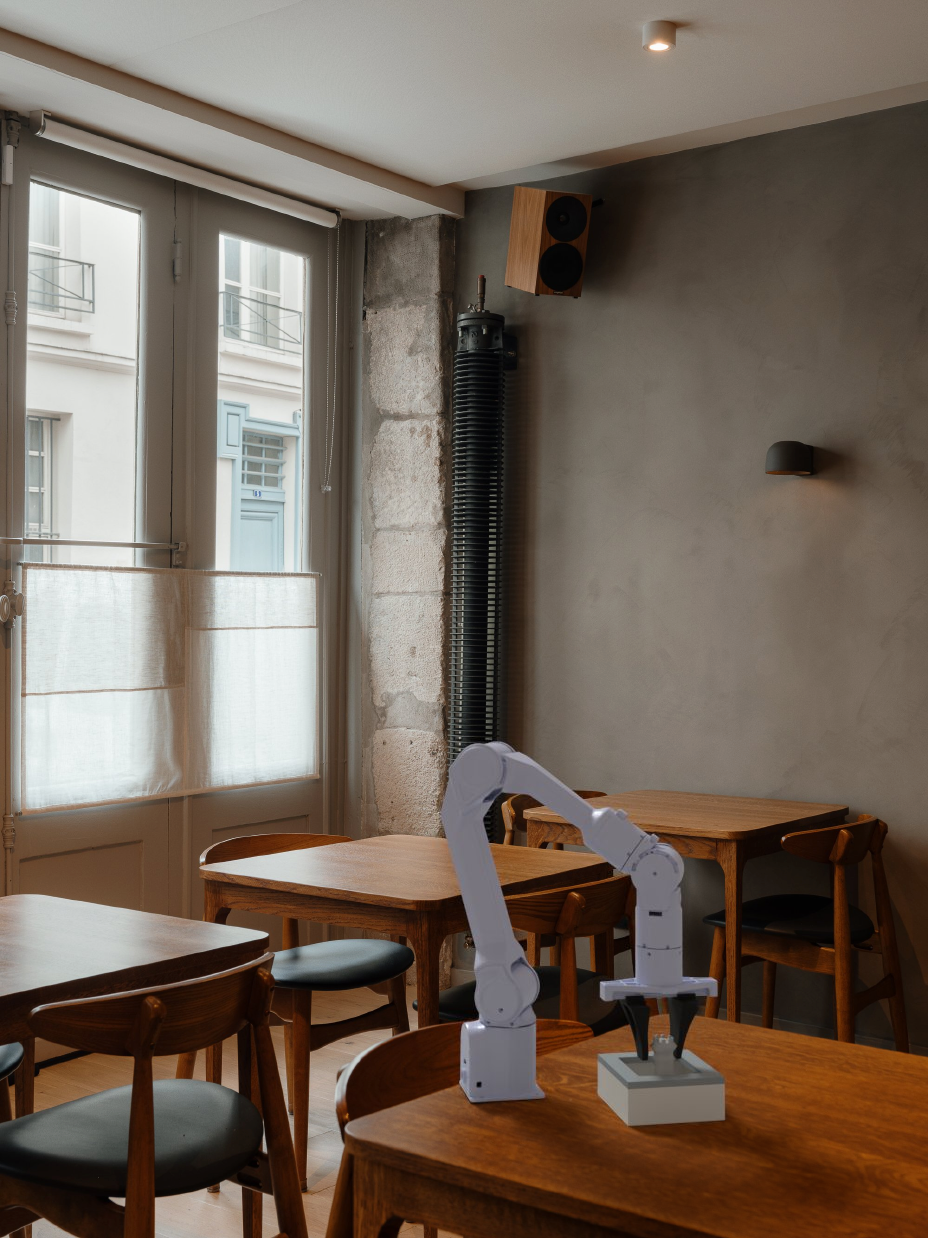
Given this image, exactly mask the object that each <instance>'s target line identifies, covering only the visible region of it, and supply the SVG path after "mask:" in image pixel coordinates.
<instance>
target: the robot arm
mask: <svg viewBox="0 0 928 1238" xmlns="http://www.w3.org/2000/svg"><path fill="white" fill-rule="evenodd" d="M502 793H505V794H519V795H528V796H530V797H532V799H535V800H536V801H538V802H539V803H540V804H542V805H544V806H545V807H547V808H548V809H549V810H551V811H553V812H554V813H555V814H557V815H558V816H560V817H561V818H563V819H565V821H567V822H569V824H571V825H573V826H575V827H576V828H578V829H579V830H580V833H581V836H582V842H583V845H584V846H585V847H587V848H588V849H589V850H591V851H592V852H593V853H595V854H597V856H599V857H601V859H603V860H605V861H606V862H608V863H609V864H610V865H611V866H613V867H614V868H616V869H617V870H618V871H619V872H621V873H623V875H630V877H631V882H632V884H633V886H634V887H635V888H636V906H635V912H634V913H635V945H634V946H635V947H634V948H635V977H631V978H624V979H617V980H610V981H609V980H608V981H600V982H599V998H601V1000H602V1001H604V1002H612V1001H614V1000H619V1003H620V1006H621V1008H622V1010H623V1012H624V1014H625V1017H626V1019H627V1022H628V1024H629V1026H630V1030H631V1033H632V1036H633V1040H634V1044H635V1049H636V1052H637V1057H639V1058H640V1059H641V1060H642V1061H647V1060H648V1054H649V1025H650V1024H649V1023H650V1017H651V1012H652V1011H651V1009H652V1008H651V1007H650V1006H648V1004H647V1001H646V1000H645V999H652V998H654V999H655V998H657V999H658V998H666V1000H667V1007H668V1016H669V1035H670V1036H672V1037H674V1042H675V1043H676V1045H677V1047H676V1048H675V1050H674V1051H673V1056H674V1057H675V1058H676V1059H681V1057H682V1051H683V1050H684V1048H685V1047H684V1046H685V1041H686V1038H687V1036H688V1033H689V1029H690V1027H691V1025H692V1023H693V1020H694V1019H695V1017H696V1015H697V1013H698V1012H699V1010H700V1000H698V999H697V997H698V996H699V997H700V996H701V997H703V996H704V997H705V996H708V997H710V998H711V997H712V998H714V997H715V998H717V997H718V980H717V979H714V978H713V977H694V976H693V977H690V976H683V908H682V906H681V902H682V892H681V887H680V886H679V884H680V883H681V881H682V879H683V877H684V873H685V864H684V861H683V860H684V859H683V858H682V857H681V855H680V854H679V852H678V851H677V850H676V849H675V848H674V847H673V845H671V844H669V843H665V842H659V840H660V837H659V836H657V835H656V834H655V833H652V834H651V835H650V834H648V833H647V832H645V831H644V830H642V829H641V828H640V827H638V826H637V825H635V823H634V822H633V823H632V822H631V821H630V820H629V819H627V818H628V817H629V814H628V813H627V812H626V811H625V810H623V809H622V808H619V809H617V810H615V809H613V808H612V807H602V808H595V807H593V806H592V805H591V804H590V803H589V802H588V801H586V800H585V799H583V797H581V796H579V794H577V792H575V791H573V790H572V789H571V788H569V787H568V786H567V785H566V784H564V783H563V782H562V781H560V780H559V778H557V777H556V776H554V775H553V774H552V773H550V772H549V771H548V770H547V769H545V768H544V767H543V766H542V765H540V764H539V763H538V762H536V761H535V760H534V759H532V758H531V757H529V756H528V755H526V754H525V753H522V752H520V751H516V750H515V749H514V748H513V747H512V746H510V745H509V744H507V743H506V742H503V741H491V742H488V743H473V744H470V745H468V746H466V747H464V749H462V750H461V751H460V752H459V754H458V755H457V757H456V758H455V760H454V761H453V762H452V764H451V765H450V766H449V768H448V782H447V786H446V791H445V793H444V797H443V801H442V805H441V810H440V818H441V820H440V821H441V823H442V827H443V830H444V834H445V837H446V841H447V845H448V850H449V853H450V855H451V861H452V864H453V868H454V871H455V874H456V875H455V876H456V879H457V882H458V883H457V884H458V887H459V890H460V895H461V897H462V902H463V904H464V905H463V906H464V909H465V912H466V913H465V914H466V916H467V920H468V925H469V928H470V932H471V936H472V939H473V942H474V946H475V959H474V965H473V973H474V976H475V981H476V982H475V983H476V987H475V992H474V1002H475V1003H474V1004H475V1007H476V1010H477V1011H478V1017H479V1018H478V1020H474V1021H466V1022H463V1023H462V1025H461V1031H460V1072H459V1074H460V1075H459V1076H460V1078H459V1079H460V1080H459V1085H460V1087H461V1089H462V1090H463V1092H464V1093H465V1095H466V1096H467V1098H468V1100H469V1101H470V1102H471V1103H486V1102H503V1101H518V1100H536V1099H537V1100H538V1099H540V1100H541V1099H545V1098H546V1094H545V1092H544V1091H543V1090H542V1089H541V1087H540V1086H539V1085H538V1084H537V1075H536V1073H537V1069H536V1067H537V1060H536V1059H537V1053H536V1052H537V1046H536V1045H537V1021H536V1020H537V1015H536V1014H535V1012H534V1010H533V1007H532V1005H533V1003H534V1002H535V1001H536V999H537V998H538V995H539V994H540V993H539V992H540V987H541V986H540V978H539V976H538V973H537V972H536V970H535V969H534V968H533V967H532V966H531V965H530V963H529V962H528V960H527V958H526V954H525V950H524V948H523V947H522V946H521V944H520V943H519V941H517V938H515V934H514V931H513V928H512V924H511V919H510V916H509V913H508V909H507V904H506V902H505V896H504V894H503V891H502V887H501V882H500V879H499V876H498V872H497V868H496V865H495V861H494V858H493V857H494V856H493V854H492V850H491V849H492V848H491V847H490V842H489V839H488V835H487V831H486V828H485V823H484V817H485V815H486V814H487V813H488V811H489V809H490V807H491V806H492V804H493V803H494V801H495V799H496V798H497V797H498V796H499V795H501V794H502Z"/></svg>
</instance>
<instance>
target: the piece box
mask: <svg viewBox="0 0 928 1238" xmlns="http://www.w3.org/2000/svg"><path fill="white" fill-rule="evenodd" d="M653 1055H654V1051H653V1050H650V1051H649V1054H648V1060H647V1061H642V1060H641V1059H640V1058H639V1057H637V1051H633V1052H632V1051H631V1052H629V1051H627V1052H613V1053H612V1052H609V1053H608V1052H607V1053H597V1095H598V1097H599V1098H601V1100H603V1101H604V1103H606V1105H608V1108H610V1109H611V1110H612V1111H613V1112H614V1113H615V1115H617V1117H619V1118H620V1119H621V1120H622V1121H623V1122H624V1124H625V1125H627V1127H633V1126H635V1127H636V1126H648V1125H649V1126H651V1125H653V1126H654V1125H666V1124H679V1123H680V1124H681V1123H697V1122H699V1123H700V1122H701V1123H702V1122H713V1121H714V1122H716V1121H717V1122H718V1121H725V1120H726V1101H725V1100H726V1098H725V1097H726V1096H725V1095H726V1094H725V1093H726V1092H725V1091H726V1088H725V1087H726V1081H725V1080H726V1079H725V1078H726V1077H725V1076H724V1075H723V1074H721V1073H720V1072H719V1071H717V1070H716V1069H714V1067H712V1066H711V1065H709V1064H708V1063H707V1062H705V1061H704V1059H703V1060H702V1059H701V1058H700V1057H698V1055H696V1054H694V1053H693V1052H692V1051H691V1050H689V1049H688V1048H687V1049H683V1051H682V1057H681V1059H676V1058H675V1060H674V1061H673V1067H674V1075H655V1076H652V1074H653V1066H654V1060H653V1059H652V1056H653Z"/></svg>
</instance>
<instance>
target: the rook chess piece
mask: <svg viewBox="0 0 928 1238" xmlns="http://www.w3.org/2000/svg"><path fill="white" fill-rule="evenodd" d="M649 1046H650V1048H651V1049H652V1051H654V1055H653V1056H652V1059H653V1060H654V1066H653V1074H652V1076H655V1075H674V1067H673V1061H674V1060H675V1057H674V1056H673V1051H674V1050H675V1048H676V1047H677V1045H676V1043H675V1042H674V1037H672V1036H670V1034H668V1035H667V1038H666V1034H663V1033H662V1034H660V1037H659V1034H655V1035H654V1036H652V1040H651V1042H650V1043H649Z"/></svg>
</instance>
